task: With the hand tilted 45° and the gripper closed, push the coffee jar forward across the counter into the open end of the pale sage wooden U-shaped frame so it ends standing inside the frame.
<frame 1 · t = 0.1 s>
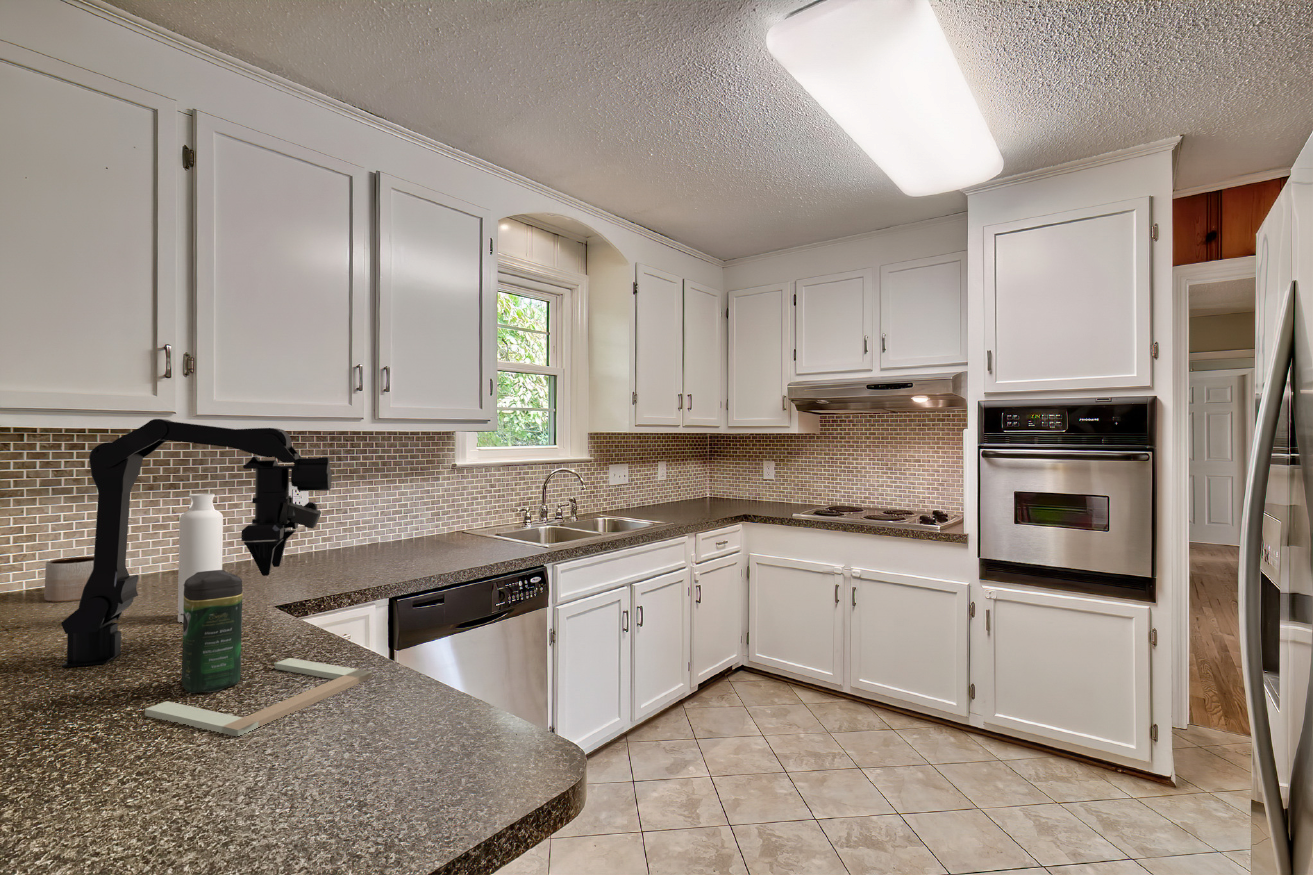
hand: (271, 571, 126), 15 cm above the countertop, tool pointing down, fingers open, 9 cm apart
planter: (73, 598, 163), on the countertop
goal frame: (260, 693, 102), on the countertop
bottle: (199, 619, 145), on the countertop
coffee jar: (211, 685, 106), on the countertop
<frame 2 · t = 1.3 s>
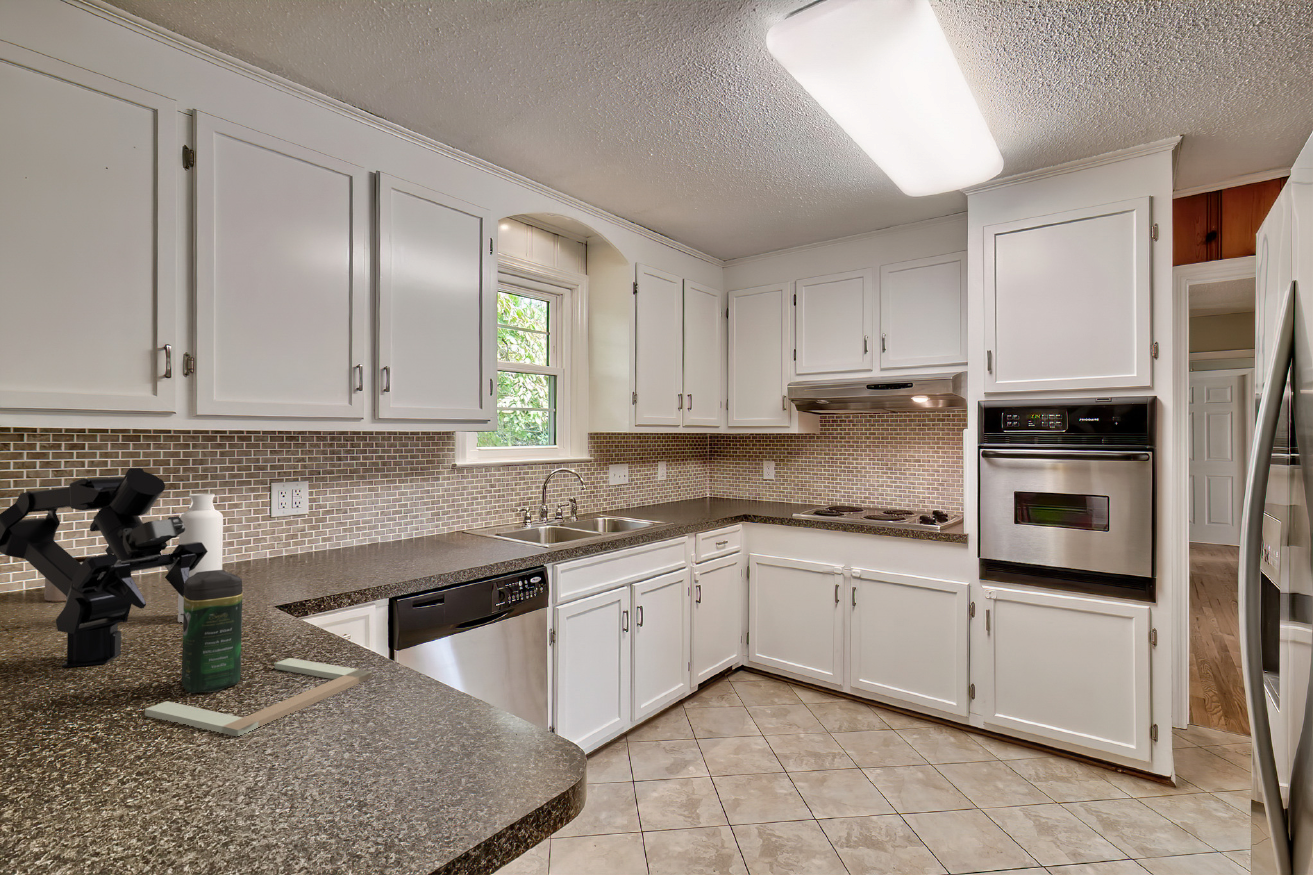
hand: (166, 601, 110), 12 cm above the countertop, tool tilted 45°, fingers open, 7 cm apart
nothing on the countertop moved.
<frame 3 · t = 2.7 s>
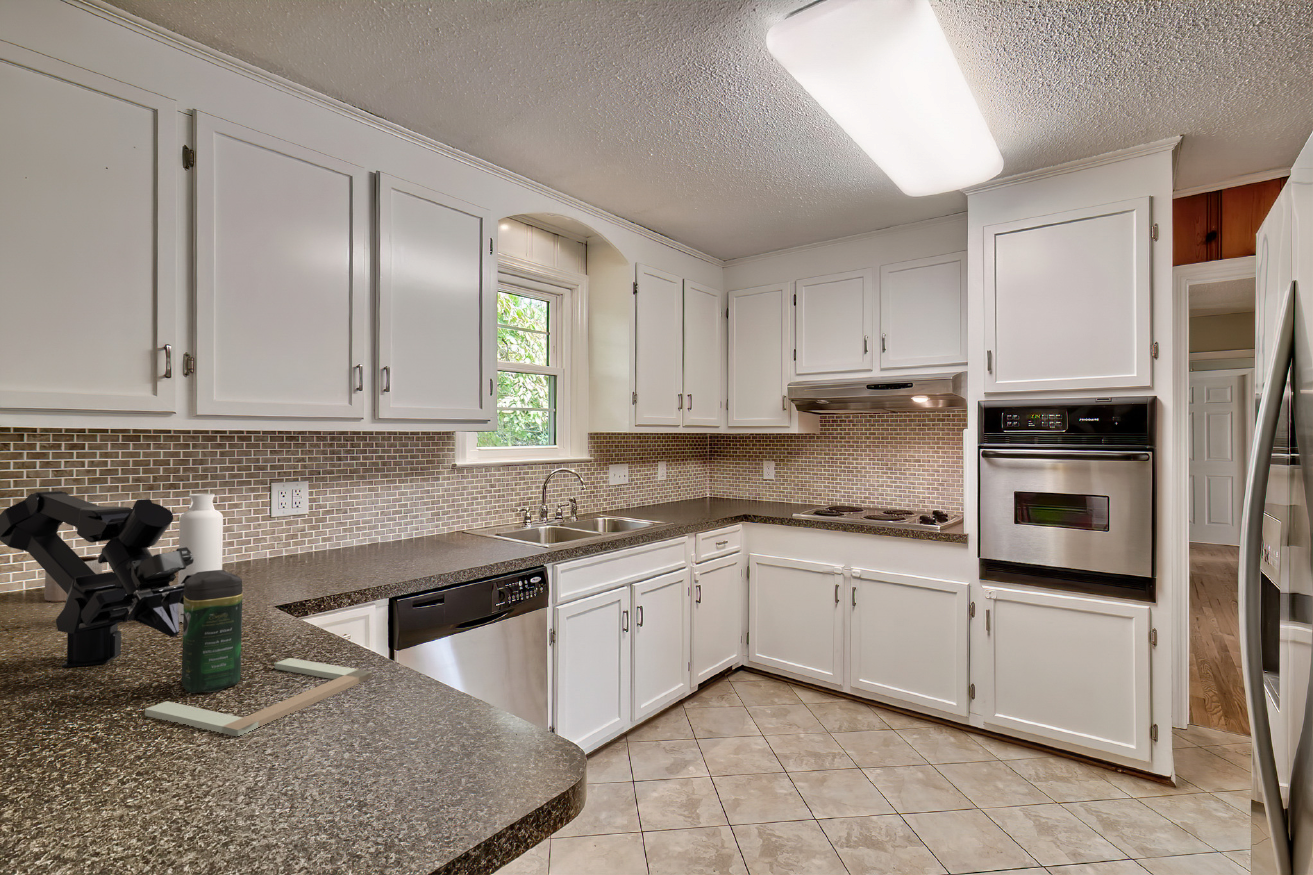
hand: (175, 635, 109), 7 cm above the countertop, tool tilted 45°, fingers closed
nothing on the countertop moved.
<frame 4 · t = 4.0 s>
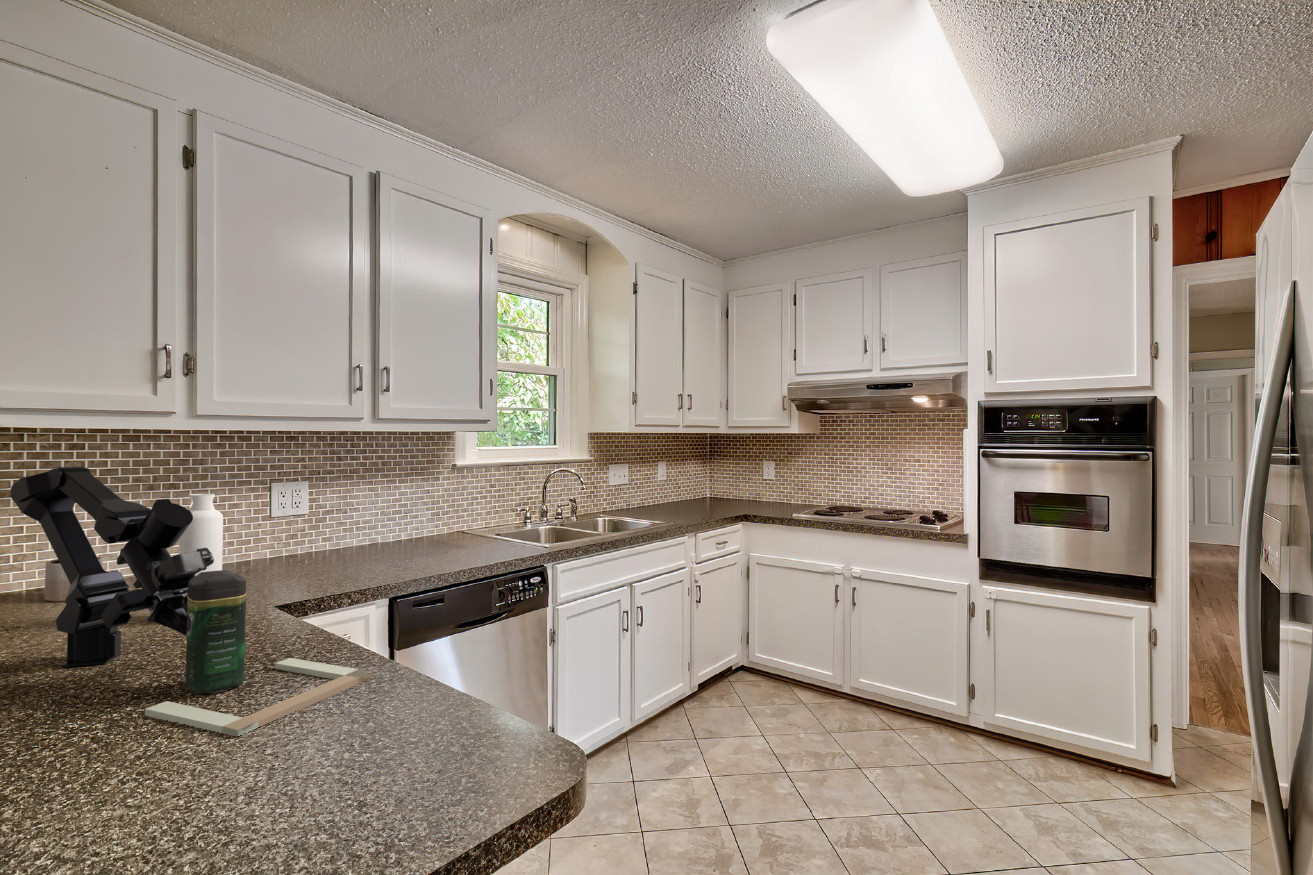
hand: (196, 636, 107), 7 cm above the countertop, tool tilted 45°, fingers closed, pressing on coffee jar
coffee jar: (215, 686, 106), on the countertop, touching gripper
everything else where it was.
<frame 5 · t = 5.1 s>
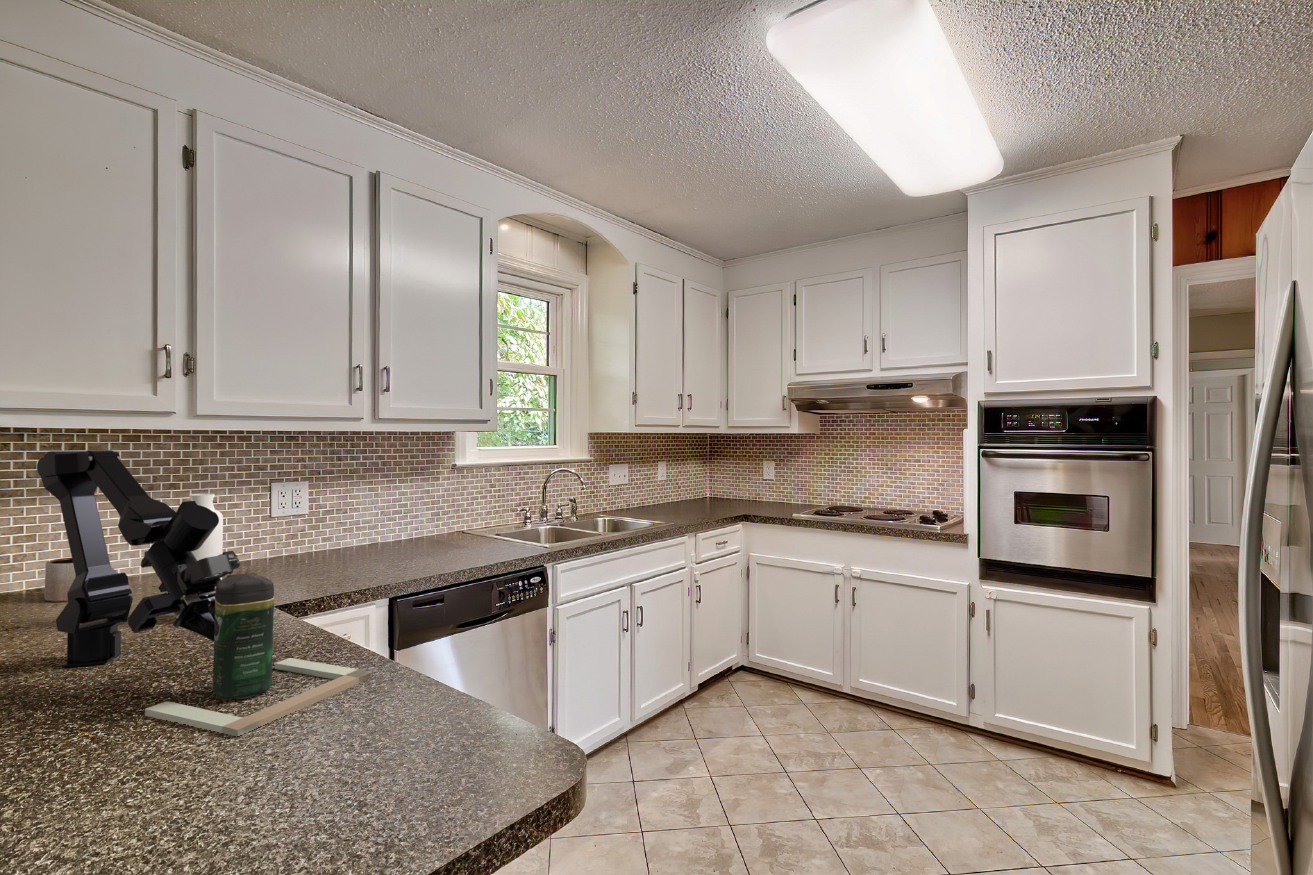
hand: (223, 641, 105), 7 cm above the countertop, tool tilted 45°, fingers closed
coffee jar: (243, 691, 103), on the countertop
everything else where it was.
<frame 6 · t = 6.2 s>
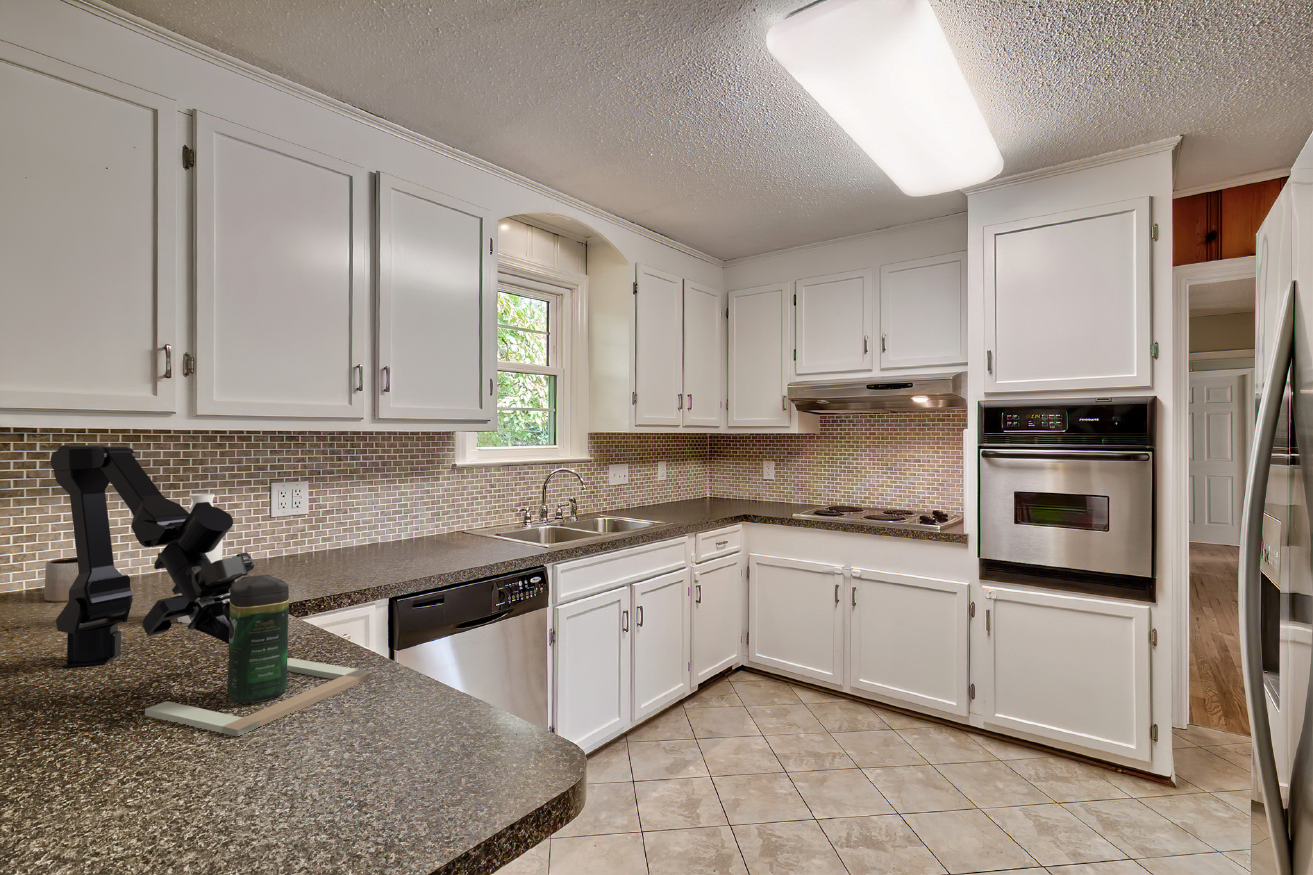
hand: (238, 644, 104), 7 cm above the countertop, tool tilted 45°, fingers closed, pressing on coffee jar
coffee jar: (257, 694, 102), on the countertop, touching gripper
everything else where it was.
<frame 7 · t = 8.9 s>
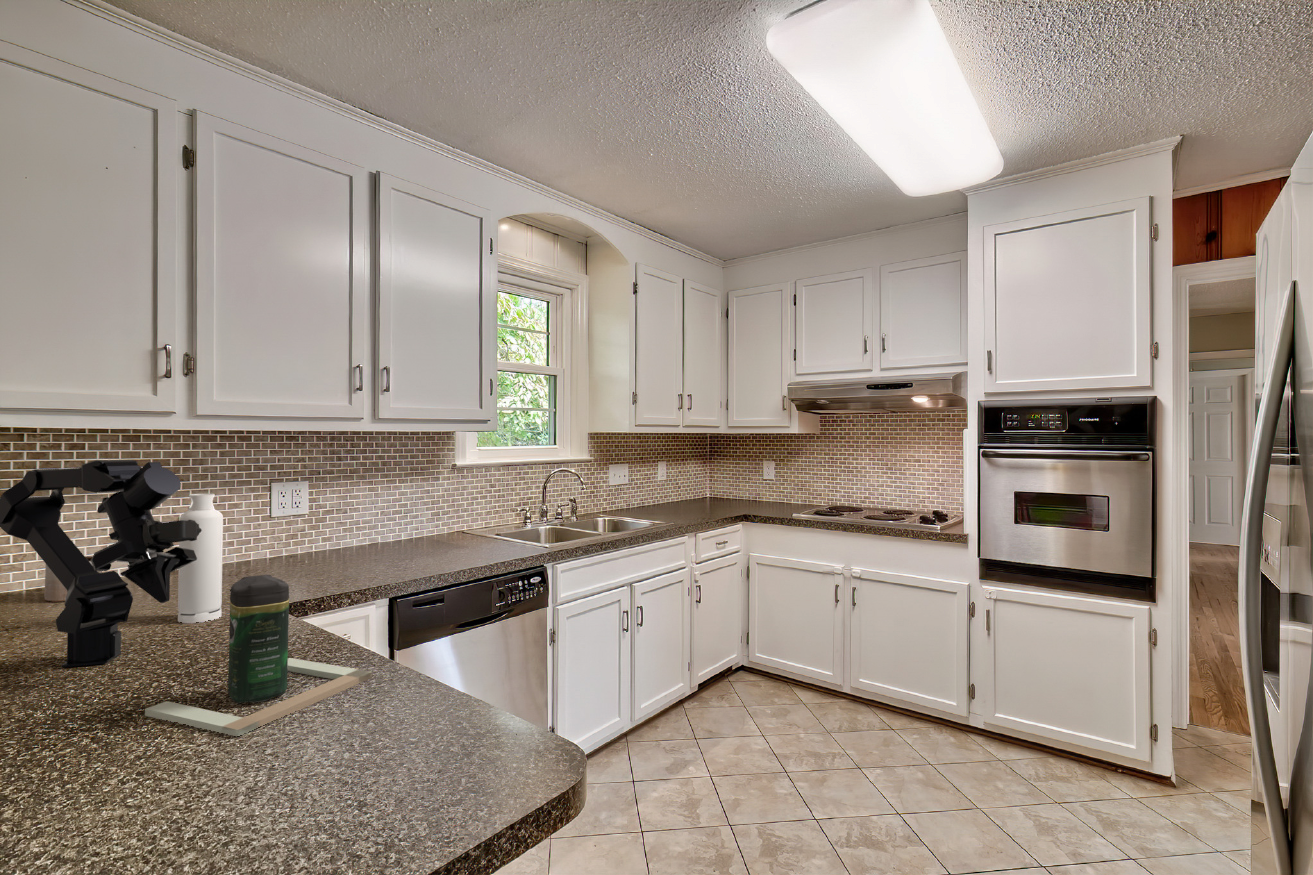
hand: (165, 601, 111), 12 cm above the countertop, tool tilted 30°, fingers closed
coffee jar: (258, 694, 102), on the countertop
everything else where it was.
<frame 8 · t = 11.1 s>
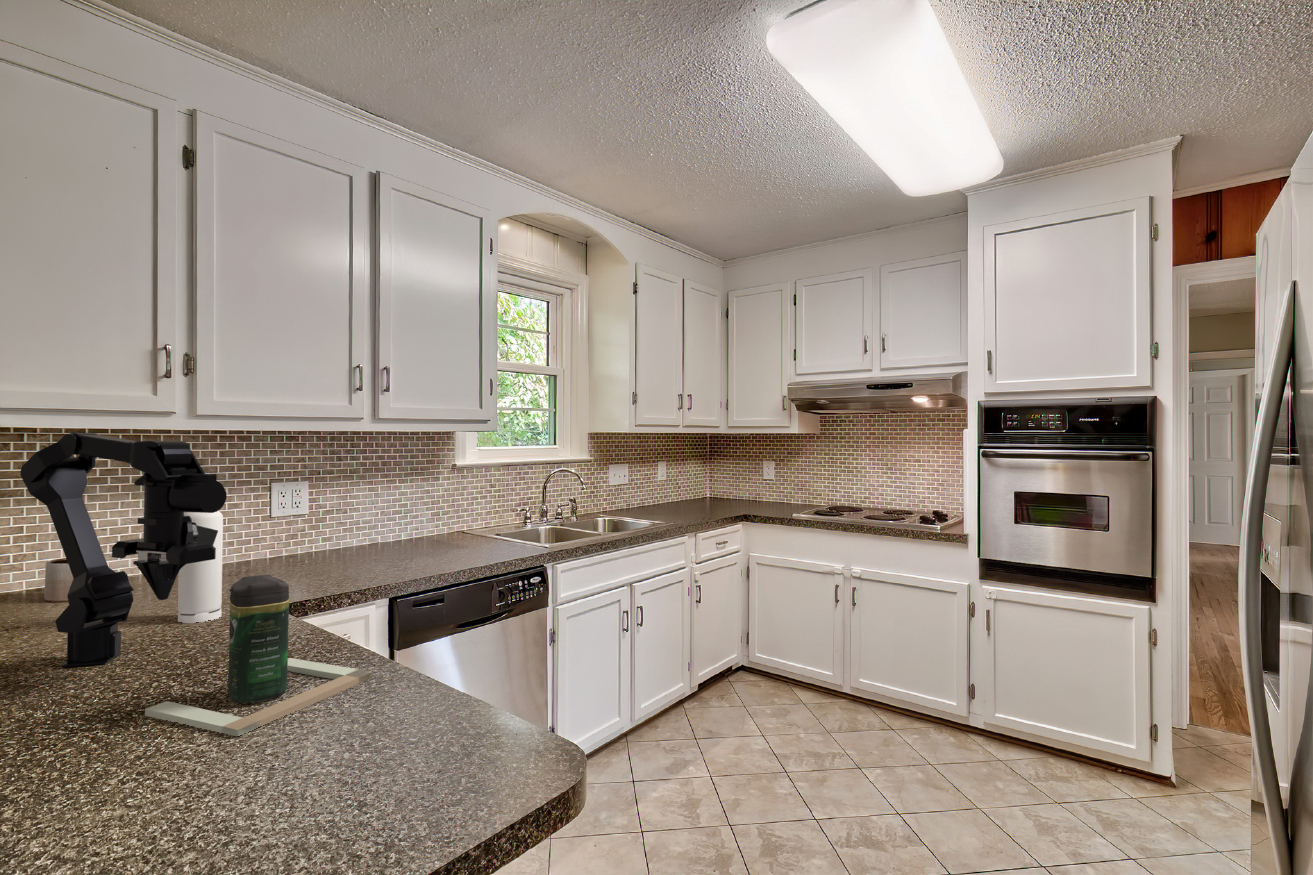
hand: (162, 599, 114), 12 cm above the countertop, tool pointing down, fingers closed
nothing on the countertop moved.
at the end: coffee jar 0.5 cm from the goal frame (horizontally); coffee jar tilted 0°; coffee jar moved 10.6 cm from its start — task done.
